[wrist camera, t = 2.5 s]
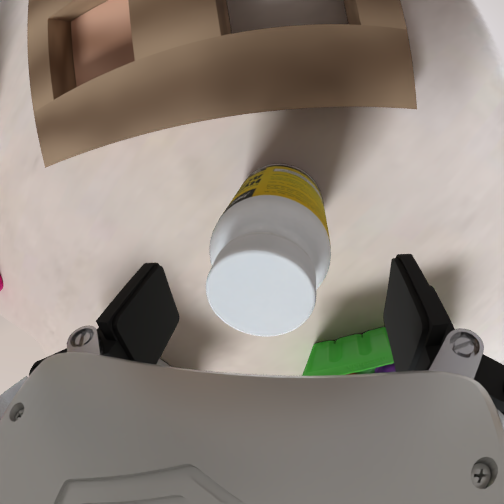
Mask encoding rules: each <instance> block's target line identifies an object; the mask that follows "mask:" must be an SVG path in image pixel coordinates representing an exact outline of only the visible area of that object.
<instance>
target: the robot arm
mask: <svg viewBox="0 0 504 504" xmlns="http://www.w3.org/2000/svg"><path fill="white" fill-rule="evenodd" d="M0 1H1V0H0ZM96 322H97V324H98V326H99V328H98V329H96V328H95V327H94V326H83V327H80V328H78V329H77V330H75V331H74V332H73V333H72V334H71V335H70V336H69V338H68V341H67V349H64V350H62V351H60V352H58V353H55V354H53V355H51V356H49V357H46V358H44V359H42V360H39V361H37V362H35V363H34V365H33V366H32V368H31V370H30V373H29V377H27V376H26V377H24V378H23V379H22V380H20V381H19V382H18V383H16V384H15V385H13V386H12V387H11V388H9V389H8V390H7V391H5V392H4V393H3V394H1V395H0V504H504V365H502V364H501V363H499V362H497V361H495V360H493V359H491V358H489V357H487V356H485V355H483V350H484V346H483V342H482V340H481V338H480V337H479V336H478V335H477V334H476V333H474V332H472V331H471V330H467V329H454V327H453V325H452V323H451V321H450V319H449V317H448V314H447V312H446V311H445V309H444V307H443V305H442V303H441V301H440V299H439V297H438V295H437V293H436V291H435V290H434V288H433V287H432V286H429V284H428V282H427V280H426V278H425V277H424V275H423V273H422V271H421V270H420V268H419V266H418V264H417V263H416V261H415V259H414V258H413V256H412V255H411V254H398V255H397V256H396V258H393V259H392V262H391V269H390V277H389V284H388V290H387V297H386V303H385V308H384V324H385V328H386V331H387V335H388V339H389V343H390V348H391V352H392V356H393V360H394V365H395V370H396V372H387V373H372V374H354V375H326V376H282V375H254V374H237V373H224V372H212V371H202V370H193V369H184V368H176V367H169V366H162V365H156V364H157V362H158V360H159V358H160V356H161V354H162V352H163V351H164V349H165V347H166V345H167V343H168V341H169V339H170V337H171V335H172V333H173V332H174V330H175V328H176V326H177V324H178V322H179V314H178V311H177V308H176V305H175V302H174V299H173V297H172V294H171V291H170V288H169V285H168V282H167V279H166V276H165V272H164V269H163V267H162V266H160V265H159V264H158V263H145V264H144V265H143V266H142V267H141V268H140V269H139V270H138V271H137V273H136V274H135V275H134V276H133V277H132V278H131V279H130V281H129V282H128V283H127V284H126V285H125V286H124V288H123V289H122V290H121V291H120V292H119V294H118V295H117V296H116V297H115V298H114V300H113V301H112V302H111V303H110V304H109V306H108V307H107V308H106V309H105V311H104V312H103V313H102V314H101V315H100V317H99V318H98V319H97V320H96Z"/></svg>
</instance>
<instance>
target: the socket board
mask: <svg viewBox="0 0 504 504" xmlns="http://www.w3.org/2000/svg"><path fill="white" fill-rule="evenodd" d="M344 5H345V9H346V14H347V19H348V24H314V25H295V26H283V27H273V28H265V29H257V30H250V31H244V32H238V33H233V34H232V33H231V27H230V21H229V14H228V8H227V2H226V0H29V5H28V64H29V77H30V87H31V96H32V103H33V110H34V116H35V122H36V128H37V133H38V138H39V143H40V147H41V152H42V156H43V160H44V164H45V168H46V167H48V166H50V165H53V164H55V163H58V162H60V161H63V160H65V159H68V158H71V157H73V156H76V155H79V154H82V153H84V152H87V151H90V150H93V149H96V148H99V147H102V146H105V145H108V144H112V143H115V142H118V141H121V140H125V139H128V138H132V137H135V136H139V135H143V134H147V133H150V132H154V131H158V130H162V129H167V128H171V127H175V126H180V125H185V124H190V123H194V122H200V121H205V120H210V119H216V118H222V117H228V116H235V115H242V114H249V113H257V112H266V111H276V110H287V109H300V108H317V107H391V108H407V109H417V104H416V91H415V81H414V72H413V64H412V57H411V51H410V44H409V39H408V33H407V28H406V23H405V19H404V14H403V10H402V6H401V2H400V0H344Z"/></svg>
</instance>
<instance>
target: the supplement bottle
mask: <svg viewBox="0 0 504 504" xmlns="http://www.w3.org/2000/svg"><path fill="white" fill-rule="evenodd" d="M330 258H331V246H330V239H329V233H328V227H327V221H326V216H325V210H324V205H323V199H322V196H321V193H320V190H319V188H318V186H317V184H316V183H315V181H314V180H313V179H312V178H311V177H310V176H309V175H308V174H307V173H306V172H304V171H303V170H301V169H299V168H297V167H294V166H291V165H286V164H272V165H267V166H264V167H262V168H260V169H258V170H256V171H255V172H253V173H252V174H251V175H250V176H249V177H248V178H247V179H246V180H245V182H244V183H243V185H242V186H241V188H240V189H239V191H238V192H237V194H236V195H235V197H234V198H233V200H232V201H231V203H230V204H229V206H228V207H227V208H226V210H225V211H224V213H223V214H222V216H221V217H220V219H219V221H218V223H217V224H216V226H215V228H214V230H213V233H212V236H211V240H210V260H211V264H212V268H211V270H210V272H209V274H208V277H207V282H206V294H207V298H208V301H209V304H210V306H211V308H212V309H213V311H214V312H215V313H216V315H217V316H218V317H219V318H220V319H221V320H222V321H224V322H225V323H226V324H228V325H229V326H231V327H233V328H234V329H236V330H239V331H241V332H244V333H247V334H251V335H256V336H276V335H281V334H285V333H288V332H290V331H292V330H294V329H296V328H298V327H299V326H301V325H302V324H303V323H304V322H305V321H306V320H307V319H308V318H309V316H310V315H311V313H312V311H313V309H314V306H315V302H316V290H317V288H318V287H319V286H320V285H321V283H322V282H323V280H324V278H325V277H326V274H327V272H328V269H329V265H330Z"/></svg>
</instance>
